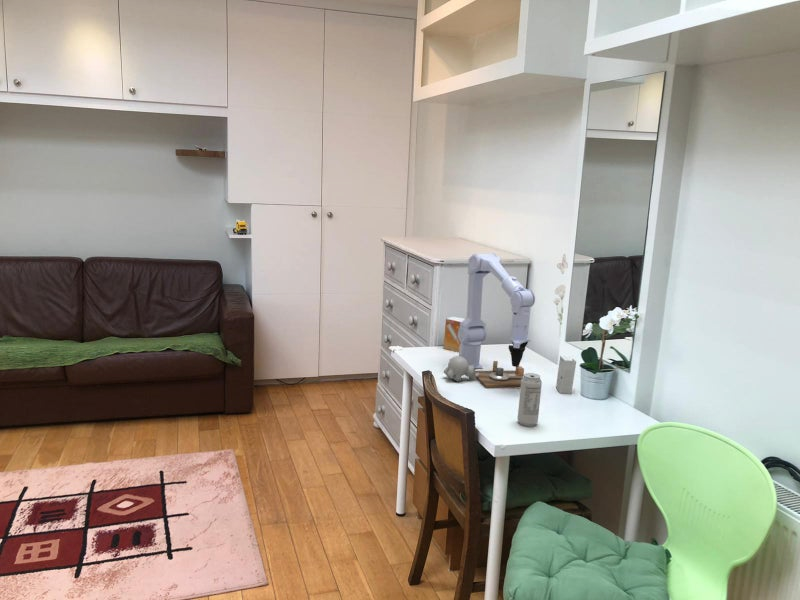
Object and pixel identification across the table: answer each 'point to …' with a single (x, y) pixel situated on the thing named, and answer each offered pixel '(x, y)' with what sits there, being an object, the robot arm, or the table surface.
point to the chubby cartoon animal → (460, 369)
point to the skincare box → (566, 374)
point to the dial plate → (503, 376)
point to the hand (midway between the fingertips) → (516, 363)
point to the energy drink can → (529, 399)
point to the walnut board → (493, 383)
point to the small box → (452, 333)
